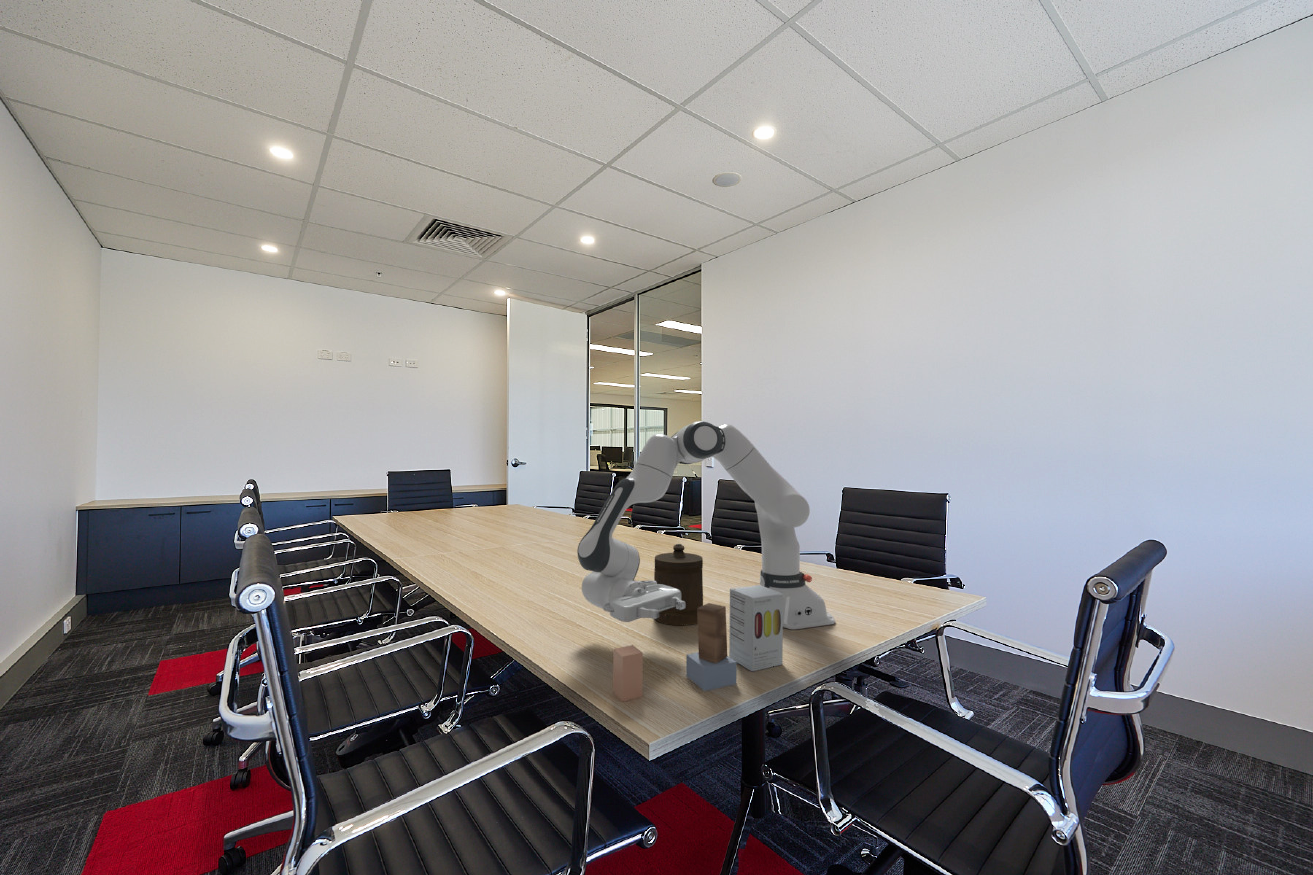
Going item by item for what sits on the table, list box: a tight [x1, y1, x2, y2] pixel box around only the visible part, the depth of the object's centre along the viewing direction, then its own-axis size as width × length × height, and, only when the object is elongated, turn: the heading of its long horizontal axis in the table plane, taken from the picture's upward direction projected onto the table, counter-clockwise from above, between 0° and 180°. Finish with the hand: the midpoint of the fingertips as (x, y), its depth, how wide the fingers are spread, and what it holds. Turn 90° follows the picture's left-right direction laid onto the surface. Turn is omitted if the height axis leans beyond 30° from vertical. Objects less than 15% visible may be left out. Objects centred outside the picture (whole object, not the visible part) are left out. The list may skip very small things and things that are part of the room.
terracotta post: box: [612, 644, 644, 702], centre depth 106 cm, size 4×4×9 cm
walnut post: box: [697, 602, 728, 663], centre depth 114 cm, size 4×4×11 cm
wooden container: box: [653, 543, 704, 627], centre depth 155 cm, size 15×15×22 cm
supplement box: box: [728, 584, 784, 672], centre depth 123 cm, size 10×9×17 cm
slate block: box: [685, 651, 738, 692], centre depth 113 cm, size 8×8×5 cm
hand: (670, 610), depth 122 cm, fingers open, 8 cm apart
